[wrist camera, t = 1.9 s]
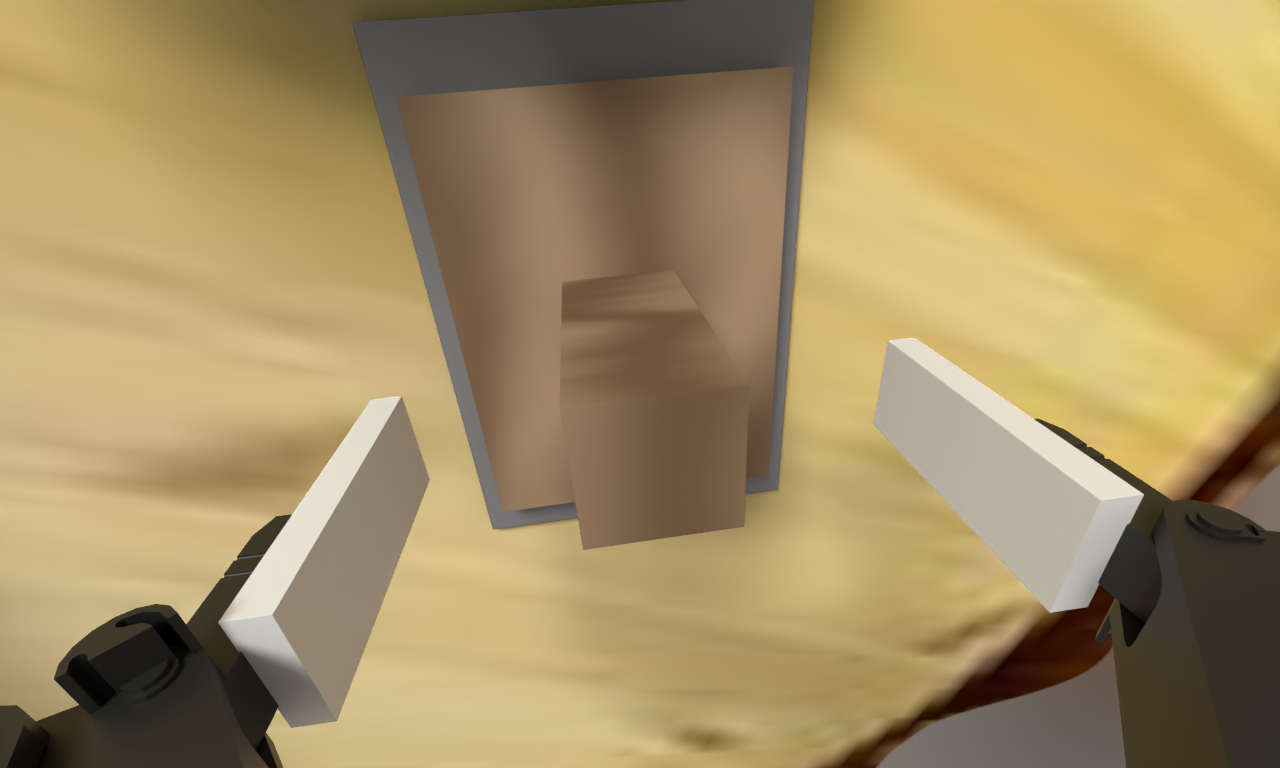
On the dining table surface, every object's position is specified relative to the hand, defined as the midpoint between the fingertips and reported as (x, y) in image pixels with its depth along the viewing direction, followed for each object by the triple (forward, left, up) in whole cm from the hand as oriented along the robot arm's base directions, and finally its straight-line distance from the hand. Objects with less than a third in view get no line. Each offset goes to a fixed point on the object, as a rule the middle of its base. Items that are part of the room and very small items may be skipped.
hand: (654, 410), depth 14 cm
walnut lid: (0, 0, -7) cm, 7 cm away
